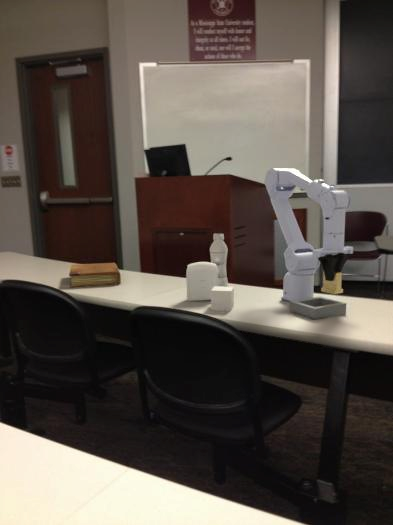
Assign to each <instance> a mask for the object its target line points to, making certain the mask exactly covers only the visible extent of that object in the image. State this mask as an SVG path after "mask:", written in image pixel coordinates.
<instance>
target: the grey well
mask: <svg viewBox="0 0 393 525" xmlns="http://www.w3.org/2000/svg"><path fill="white" fill-rule="evenodd" d="M289 312H290V313H293V314H296V315H299V316H302V317H305V318H308V319H311V320H314V321H315V320H321V319H325V318H326V319H327V318H331V317H335V316H342V315H345V314H347V302H344V301H339V300H336V299H332V298H328V297H325V296H320V295H319V296H313V298H307V299H301V300H296V301H289Z"/></svg>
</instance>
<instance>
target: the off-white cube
mask: <svg viewBox="0 0 393 525" xmlns="http://www.w3.org/2000/svg"><path fill="white" fill-rule="evenodd" d="M234 299H235V287H234V286H227V287H221V286H214V287H213V289H212V290H211V300H210V308H211V309H210V310H211V311H224V310H226V311H228V312H232V310H233V308H234V305H235V300H234Z"/></svg>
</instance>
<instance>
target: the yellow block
mask: <svg viewBox="0 0 393 525" xmlns="http://www.w3.org/2000/svg"><path fill="white" fill-rule="evenodd" d="M322 272H323V277H322V280H323V281H322V287H321V288H320V291H321V292H322V293H328V294H332V295H338V294H343V293H344V289H343V288H342V276H343V274H342V271H341V272H336V271H334V276H333V281H327V280H326V279H325V275H324V271H323V270H322Z"/></svg>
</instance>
